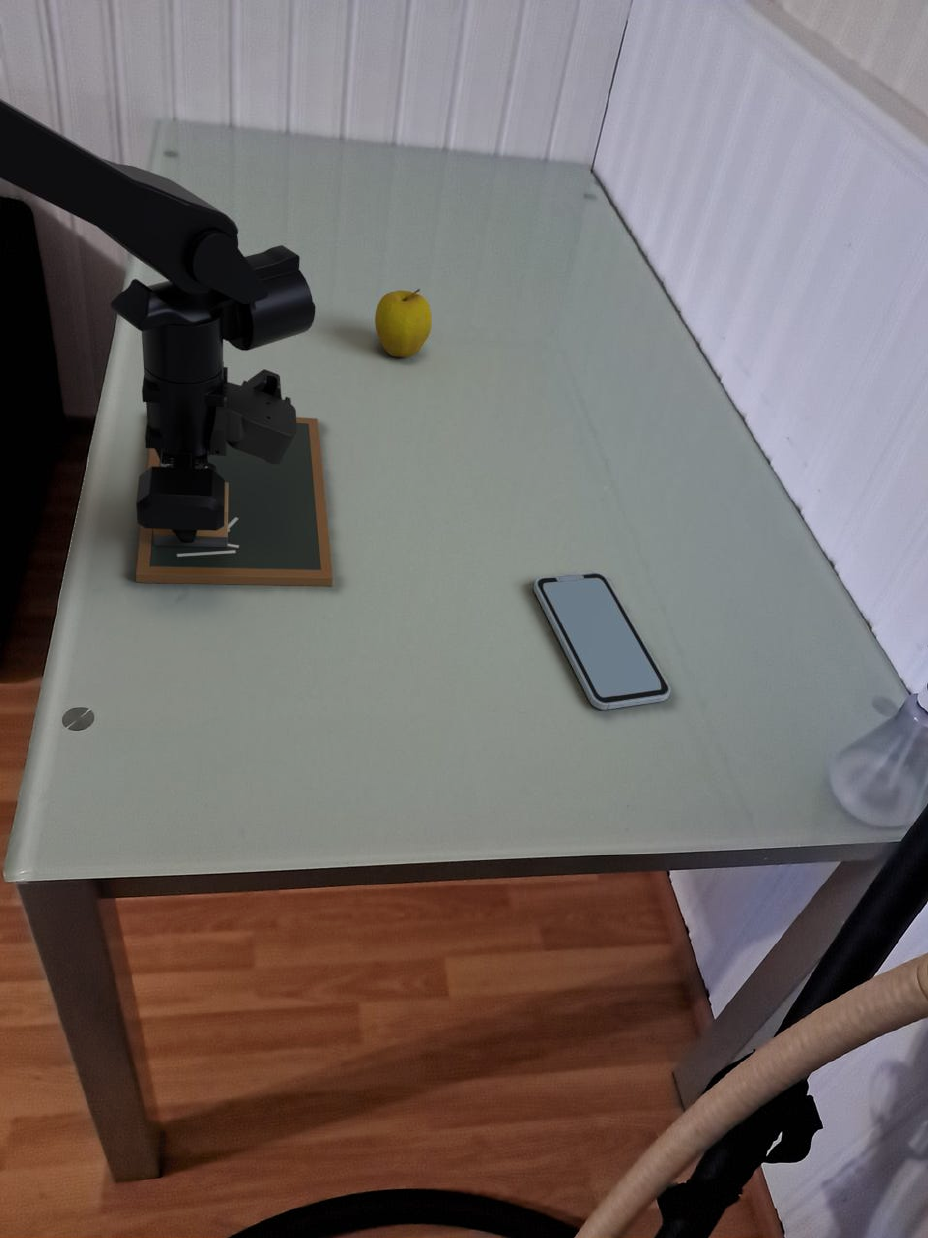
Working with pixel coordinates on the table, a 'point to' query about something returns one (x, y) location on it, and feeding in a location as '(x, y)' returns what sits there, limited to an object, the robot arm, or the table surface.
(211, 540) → the eraser
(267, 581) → the chalkboard
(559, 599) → the smartphone
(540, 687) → the table surface
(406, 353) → the apple
